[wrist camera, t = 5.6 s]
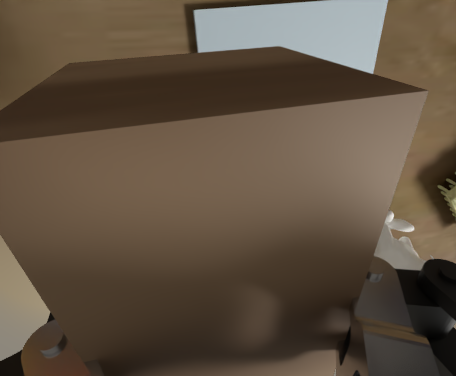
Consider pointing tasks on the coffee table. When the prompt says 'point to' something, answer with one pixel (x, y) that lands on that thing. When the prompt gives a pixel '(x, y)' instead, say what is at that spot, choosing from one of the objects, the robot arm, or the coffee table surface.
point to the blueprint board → (298, 29)
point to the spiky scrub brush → (450, 195)
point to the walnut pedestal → (203, 205)
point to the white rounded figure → (398, 245)
